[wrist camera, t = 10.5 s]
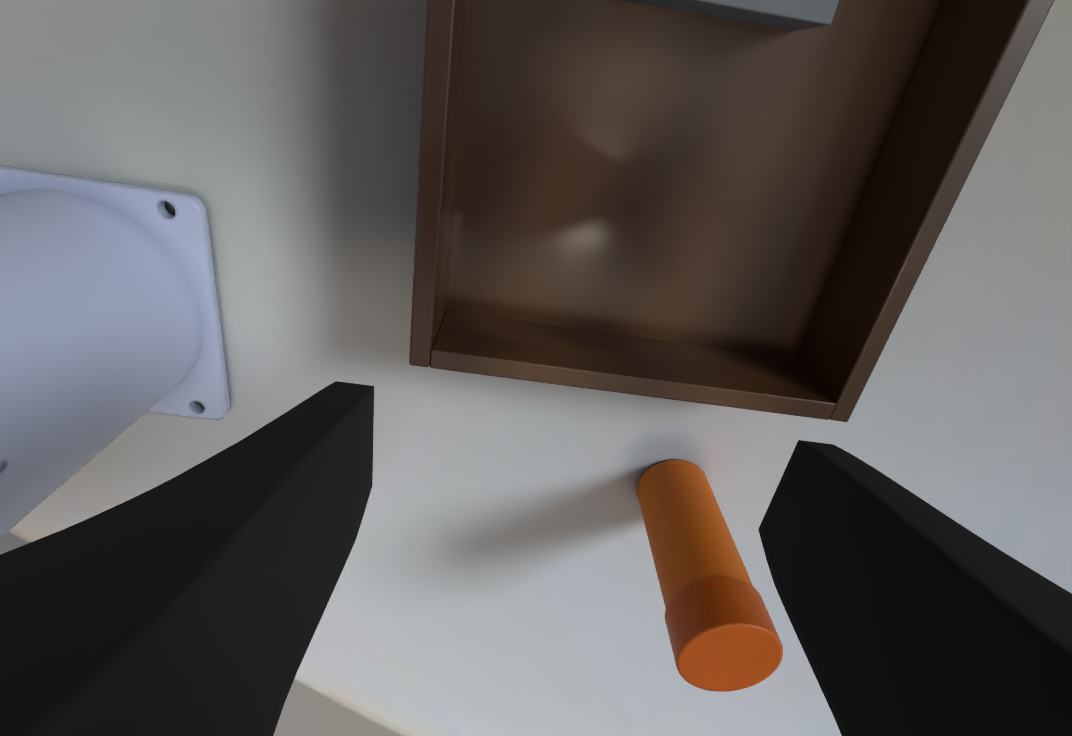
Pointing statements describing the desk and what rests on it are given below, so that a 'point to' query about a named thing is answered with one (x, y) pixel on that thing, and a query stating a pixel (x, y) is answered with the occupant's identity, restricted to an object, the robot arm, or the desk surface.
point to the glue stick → (705, 583)
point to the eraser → (759, 11)
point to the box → (693, 189)
